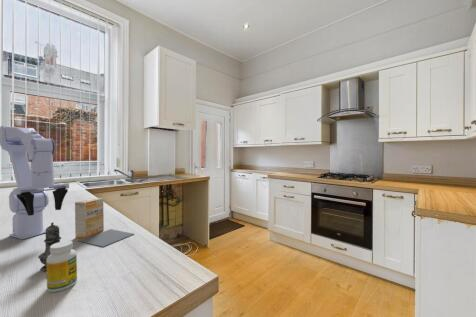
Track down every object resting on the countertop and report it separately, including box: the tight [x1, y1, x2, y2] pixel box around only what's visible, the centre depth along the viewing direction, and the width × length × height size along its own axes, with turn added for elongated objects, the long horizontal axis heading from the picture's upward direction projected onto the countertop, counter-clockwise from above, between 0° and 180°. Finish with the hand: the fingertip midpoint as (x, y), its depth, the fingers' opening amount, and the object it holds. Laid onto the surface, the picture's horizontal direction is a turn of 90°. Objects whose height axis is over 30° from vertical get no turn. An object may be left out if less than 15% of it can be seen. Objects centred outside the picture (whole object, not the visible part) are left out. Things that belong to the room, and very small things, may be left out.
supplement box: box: [74, 197, 105, 239], centre depth 81 cm, size 8×5×13 cm, turn 168°
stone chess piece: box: [37, 222, 62, 273], centre depth 57 cm, size 6×6×12 cm
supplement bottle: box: [46, 240, 78, 293], centre depth 49 cm, size 5×5×10 cm
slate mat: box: [77, 228, 135, 248], centre depth 77 cm, size 13×12×1 cm
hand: (45, 212), depth 73 cm, fingers open, 7 cm apart
